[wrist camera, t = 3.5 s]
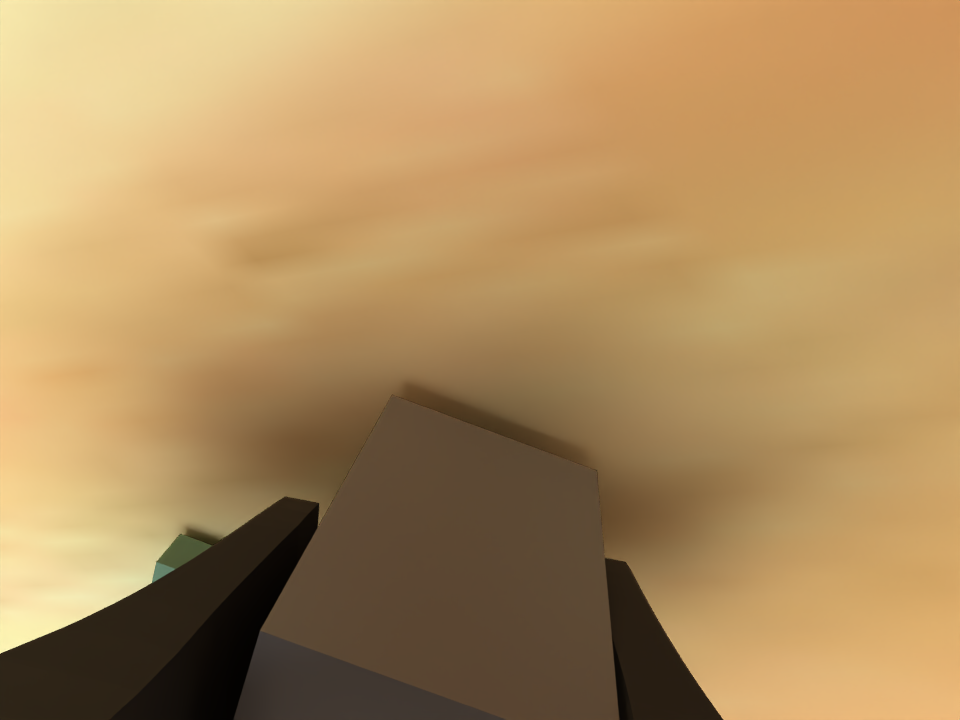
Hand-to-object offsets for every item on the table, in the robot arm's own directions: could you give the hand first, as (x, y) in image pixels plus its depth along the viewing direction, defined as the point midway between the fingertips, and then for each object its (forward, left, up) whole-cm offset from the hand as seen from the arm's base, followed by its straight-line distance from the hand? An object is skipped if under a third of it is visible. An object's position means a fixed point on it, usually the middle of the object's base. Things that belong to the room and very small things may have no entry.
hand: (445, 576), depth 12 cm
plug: (0, 0, -2) cm, 2 cm away
